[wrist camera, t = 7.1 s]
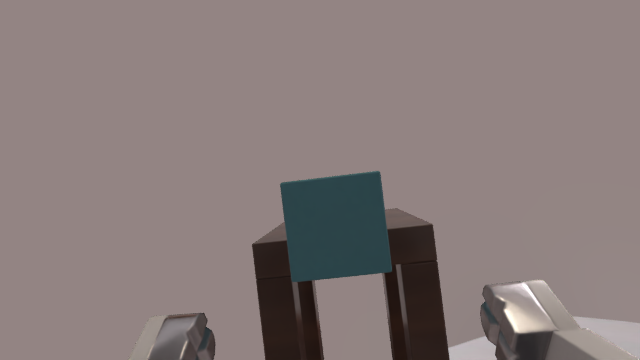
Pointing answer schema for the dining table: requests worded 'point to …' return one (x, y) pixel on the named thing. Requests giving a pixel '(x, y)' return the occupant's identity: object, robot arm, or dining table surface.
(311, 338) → the stand
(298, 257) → the rail
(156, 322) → the robot arm
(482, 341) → the dining table surface
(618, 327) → the dining table surface
